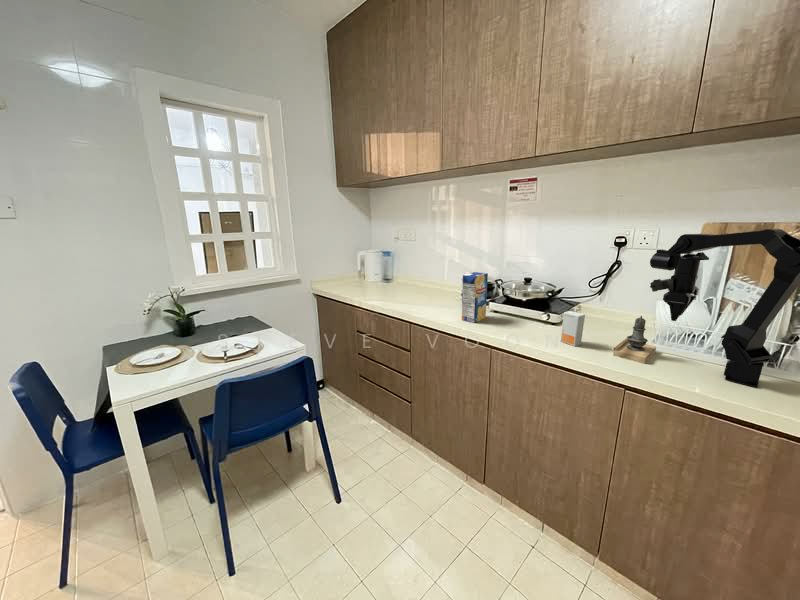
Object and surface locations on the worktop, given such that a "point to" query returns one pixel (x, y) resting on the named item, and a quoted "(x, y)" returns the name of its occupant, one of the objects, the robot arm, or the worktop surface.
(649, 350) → the dock
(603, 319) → the worktop surface
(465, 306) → the beverage box
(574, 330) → the skincare box
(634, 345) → the salt shaker
